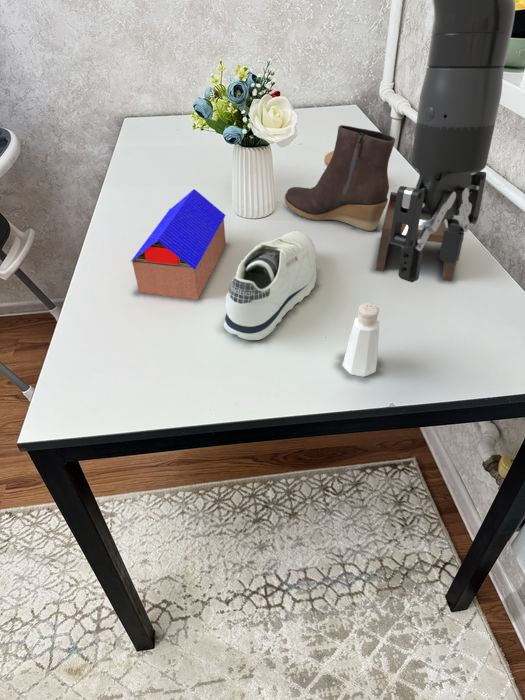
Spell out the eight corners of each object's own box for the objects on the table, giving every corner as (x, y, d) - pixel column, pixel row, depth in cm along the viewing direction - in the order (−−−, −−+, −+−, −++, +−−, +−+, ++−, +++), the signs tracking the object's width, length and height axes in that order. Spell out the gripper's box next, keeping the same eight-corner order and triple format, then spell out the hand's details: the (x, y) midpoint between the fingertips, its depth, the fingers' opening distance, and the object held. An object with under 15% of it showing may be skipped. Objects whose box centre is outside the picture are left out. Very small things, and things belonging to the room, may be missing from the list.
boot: (295, 197, 118) (298, 108, 104) (390, 222, 108) (407, 127, 95) (276, 212, 113) (277, 120, 99) (375, 239, 103) (390, 142, 89)
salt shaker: (366, 382, 73) (376, 325, 65) (335, 367, 75) (341, 310, 68) (384, 362, 76) (396, 306, 68) (353, 348, 78) (361, 292, 71)
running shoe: (329, 260, 97) (334, 205, 89) (278, 353, 78) (278, 293, 70) (277, 250, 100) (277, 196, 92) (215, 336, 81) (208, 277, 73)
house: (227, 244, 102) (223, 191, 95) (199, 300, 88) (191, 243, 80) (173, 239, 104) (165, 186, 96) (136, 293, 90) (123, 237, 82)
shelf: (452, 248, 100) (465, 200, 93) (451, 281, 91) (465, 230, 84) (382, 239, 103) (390, 191, 96) (375, 270, 94) (383, 220, 87)
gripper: (452, 128, 43) (422, 297, 51) (524, 116, 51) (489, 263, 59) (381, 122, 48) (365, 277, 56) (458, 111, 56) (434, 248, 64)
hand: (429, 270), depth 58 cm, fingers open, 8 cm apart
